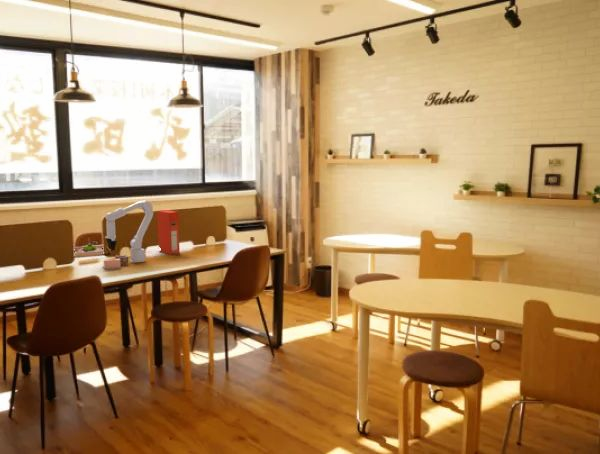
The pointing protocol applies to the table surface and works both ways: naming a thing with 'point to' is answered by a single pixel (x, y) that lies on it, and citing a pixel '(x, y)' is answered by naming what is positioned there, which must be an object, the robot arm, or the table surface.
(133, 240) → the robot arm
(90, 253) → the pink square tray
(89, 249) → the plant
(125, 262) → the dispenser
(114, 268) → the pad
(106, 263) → the pink eraser brick
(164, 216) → the file binder
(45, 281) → the table surface
